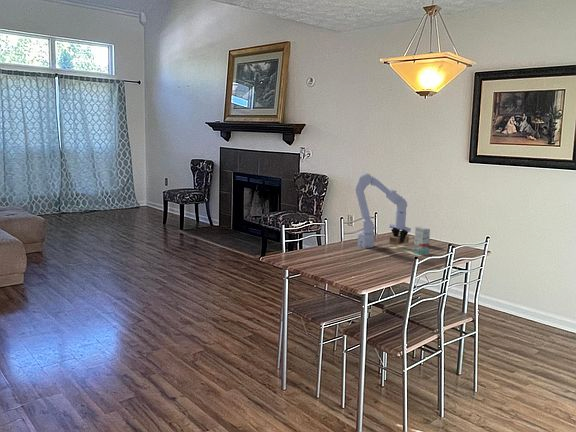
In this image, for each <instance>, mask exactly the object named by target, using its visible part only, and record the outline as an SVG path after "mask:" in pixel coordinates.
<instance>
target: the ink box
mask: <svg viewBox="0 0 576 432" xmlns="http://www.w3.org/2000/svg"><path fill="white" fill-rule="evenodd" d="M430 234H431V228H427V227H424V226H415V228H414V242H413V244H414V245H416V246H418V247H421V248H422V247H427V248H429V246H430V237H431V236H430Z"/></svg>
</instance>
